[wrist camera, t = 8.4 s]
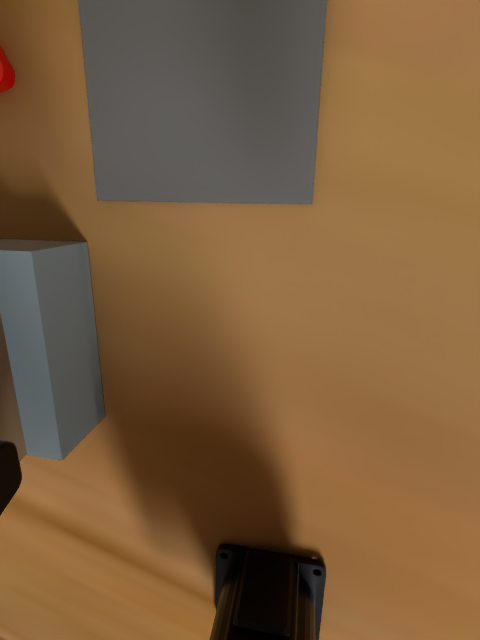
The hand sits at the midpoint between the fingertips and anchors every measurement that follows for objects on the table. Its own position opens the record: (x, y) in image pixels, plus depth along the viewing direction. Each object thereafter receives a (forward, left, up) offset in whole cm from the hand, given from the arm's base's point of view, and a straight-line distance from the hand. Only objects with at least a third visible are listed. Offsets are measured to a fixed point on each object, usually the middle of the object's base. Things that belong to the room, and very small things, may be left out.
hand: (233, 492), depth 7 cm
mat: (+10, +4, -12) cm, 16 cm away
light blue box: (-2, +15, -12) cm, 19 cm away
